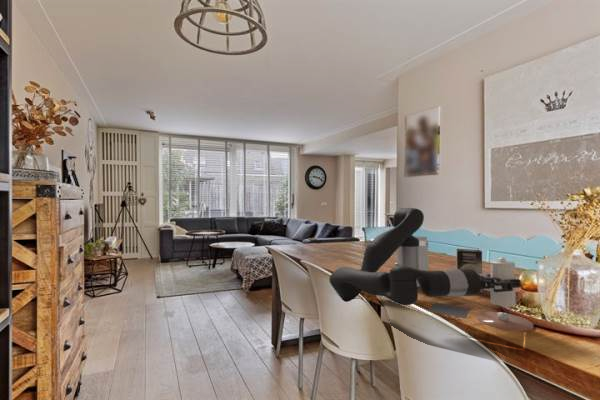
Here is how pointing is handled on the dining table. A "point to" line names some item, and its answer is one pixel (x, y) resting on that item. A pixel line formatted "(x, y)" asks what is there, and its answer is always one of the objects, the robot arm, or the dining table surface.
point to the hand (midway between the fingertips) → (509, 280)
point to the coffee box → (469, 260)
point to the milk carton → (423, 253)
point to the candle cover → (503, 271)
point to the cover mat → (449, 310)
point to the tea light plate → (505, 321)
